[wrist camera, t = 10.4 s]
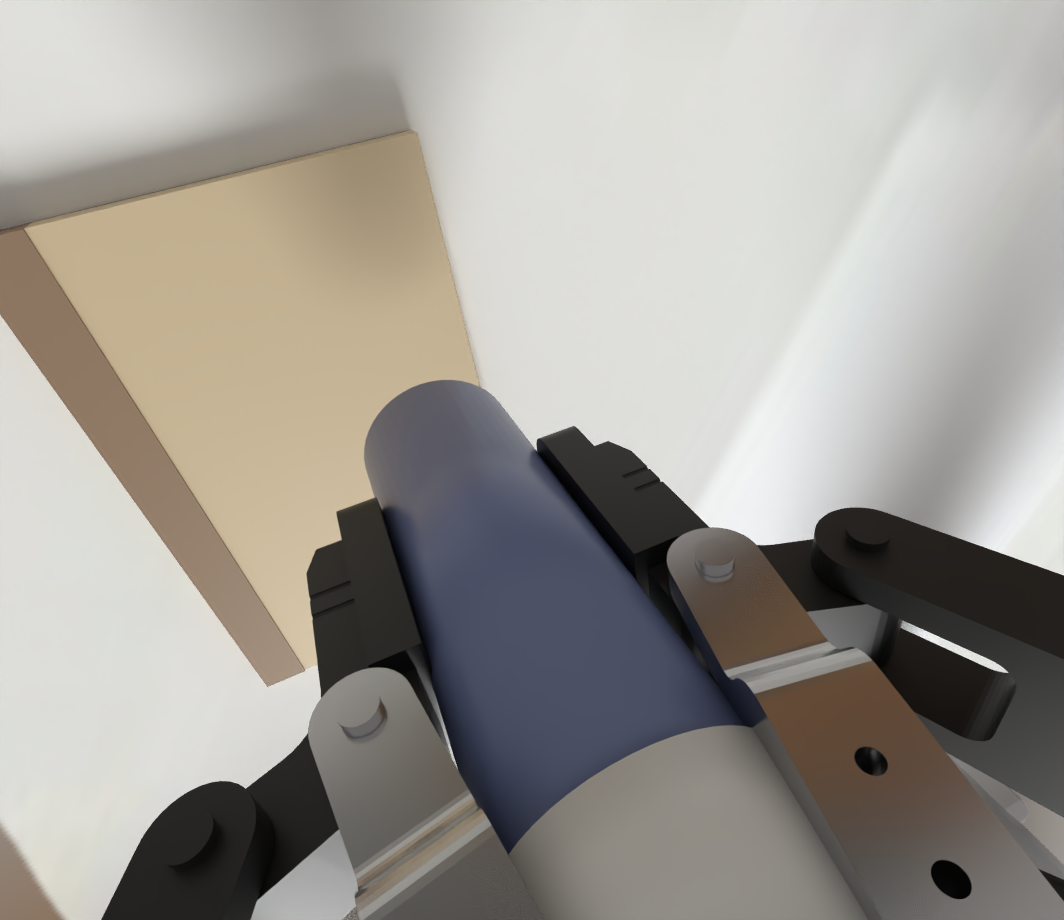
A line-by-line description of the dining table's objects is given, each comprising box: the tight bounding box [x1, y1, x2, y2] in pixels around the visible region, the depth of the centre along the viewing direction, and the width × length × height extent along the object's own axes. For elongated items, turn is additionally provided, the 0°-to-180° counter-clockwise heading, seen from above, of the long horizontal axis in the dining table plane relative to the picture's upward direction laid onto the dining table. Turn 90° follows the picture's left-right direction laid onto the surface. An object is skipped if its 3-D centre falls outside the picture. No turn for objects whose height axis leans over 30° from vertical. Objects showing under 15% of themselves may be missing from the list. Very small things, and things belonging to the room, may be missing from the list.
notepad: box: [0, 130, 480, 687], centre depth 17 cm, size 9×14×1 cm, turn 10°
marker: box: [364, 380, 868, 920], centre depth 9 cm, size 3×3×10 cm
